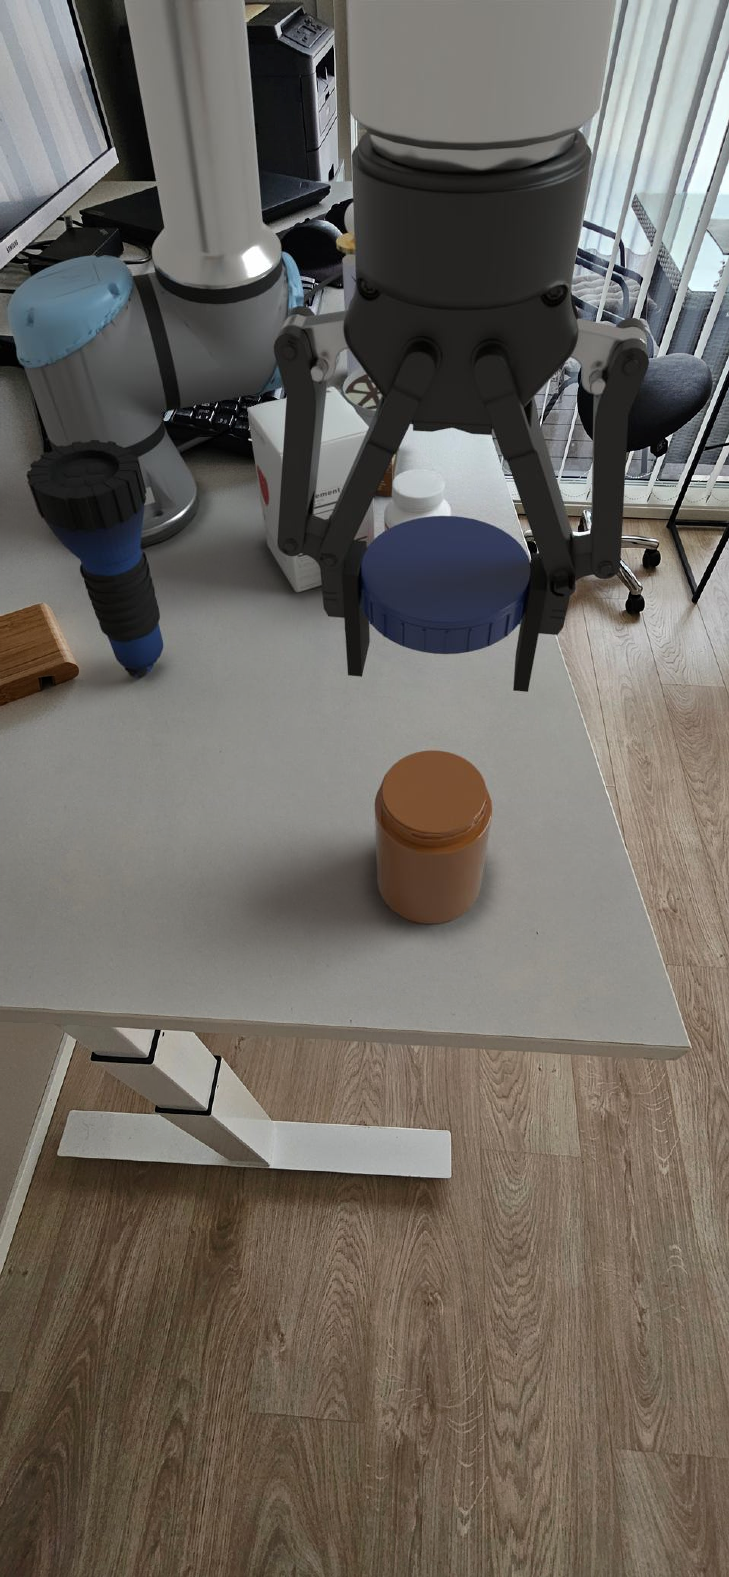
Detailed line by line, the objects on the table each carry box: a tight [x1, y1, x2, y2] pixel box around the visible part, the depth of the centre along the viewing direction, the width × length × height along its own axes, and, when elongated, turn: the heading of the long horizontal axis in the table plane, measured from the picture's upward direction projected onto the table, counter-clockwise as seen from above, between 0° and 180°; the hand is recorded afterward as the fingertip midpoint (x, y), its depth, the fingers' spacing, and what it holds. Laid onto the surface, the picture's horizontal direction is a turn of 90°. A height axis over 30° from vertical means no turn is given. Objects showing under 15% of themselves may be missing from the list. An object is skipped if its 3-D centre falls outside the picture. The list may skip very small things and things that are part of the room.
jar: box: [374, 750, 493, 925], centre depth 55 cm, size 8×8×11 cm
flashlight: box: [26, 440, 164, 679], centre depth 66 cm, size 8×8×20 cm
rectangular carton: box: [246, 386, 376, 593], centre depth 78 cm, size 9×9×15 cm
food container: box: [339, 368, 400, 498], centre depth 89 cm, size 12×6×10 cm, turn 174°
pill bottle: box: [383, 468, 452, 531], centre depth 76 cm, size 6×6×11 cm
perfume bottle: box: [335, 201, 362, 377], centre depth 99 cm, size 6×6×20 cm
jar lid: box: [361, 515, 531, 655], centre depth 39 cm, size 8×8×2 cm
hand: (439, 665), depth 43 cm, fingers closed on jar lid, 8 cm apart
